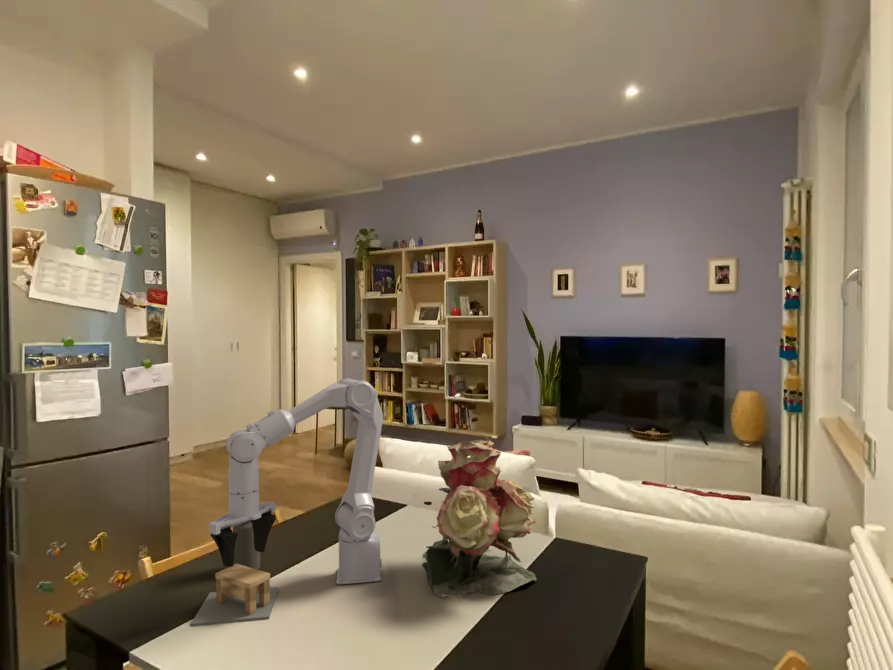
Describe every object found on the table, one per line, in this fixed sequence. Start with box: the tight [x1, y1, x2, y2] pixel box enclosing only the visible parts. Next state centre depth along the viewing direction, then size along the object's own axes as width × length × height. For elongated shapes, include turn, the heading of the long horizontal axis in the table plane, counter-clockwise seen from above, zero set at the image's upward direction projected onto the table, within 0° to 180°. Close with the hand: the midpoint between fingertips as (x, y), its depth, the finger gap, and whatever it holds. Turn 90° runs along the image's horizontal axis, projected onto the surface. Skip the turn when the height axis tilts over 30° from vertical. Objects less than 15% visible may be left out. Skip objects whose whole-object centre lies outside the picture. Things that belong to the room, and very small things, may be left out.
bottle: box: [232, 520, 261, 570], centre depth 119 cm, size 6×6×15 cm
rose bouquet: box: [414, 437, 538, 603], centre depth 117 cm, size 26×29×30 cm
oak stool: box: [214, 564, 271, 615], centre depth 102 cm, size 10×5×6 cm, turn 62°
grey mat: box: [190, 586, 280, 627], centre depth 102 cm, size 14×12×1 cm
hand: (244, 558), depth 103 cm, fingers open, 7 cm apart
